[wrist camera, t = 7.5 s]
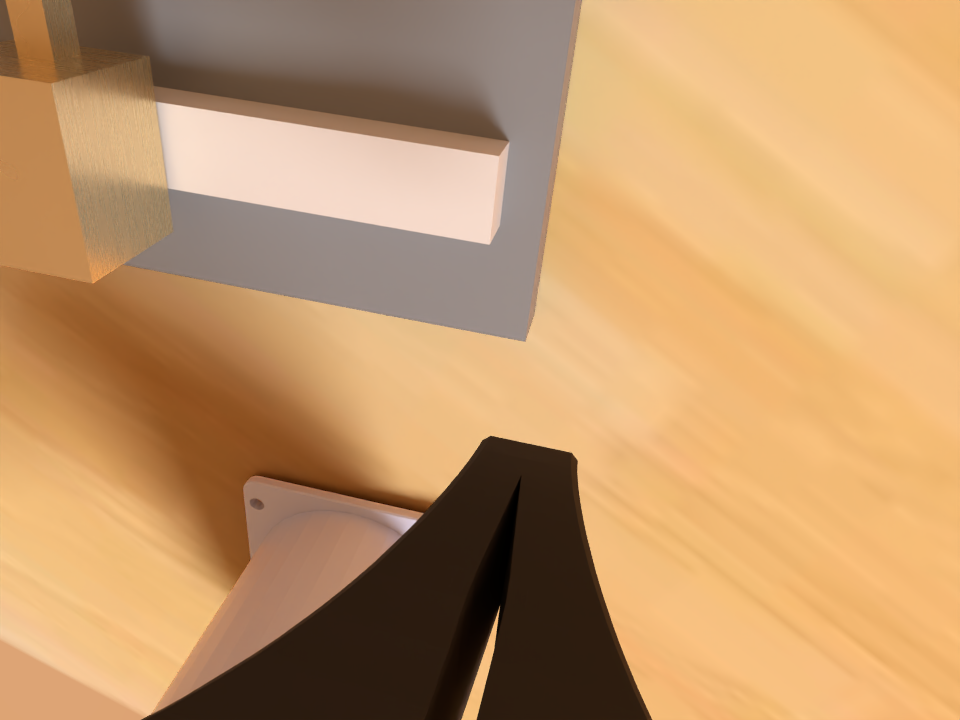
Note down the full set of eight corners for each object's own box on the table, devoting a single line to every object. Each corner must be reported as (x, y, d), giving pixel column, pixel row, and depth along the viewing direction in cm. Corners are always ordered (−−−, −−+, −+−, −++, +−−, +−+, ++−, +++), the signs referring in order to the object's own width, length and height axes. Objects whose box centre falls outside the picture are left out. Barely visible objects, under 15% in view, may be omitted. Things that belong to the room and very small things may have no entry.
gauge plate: (534, 315, 20) (492, 439, 15) (-156, 186, 23) (-371, 257, 18) (619, -246, 14) (593, -329, 9) (-351, -327, 17) (-758, -422, 12)
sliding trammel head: (199, 214, 19) (92, 283, 15) (93, 195, 19) (-35, 258, 16) (158, -138, 15) (0, -154, 11) (25, -153, 15) (-167, -172, 12)
